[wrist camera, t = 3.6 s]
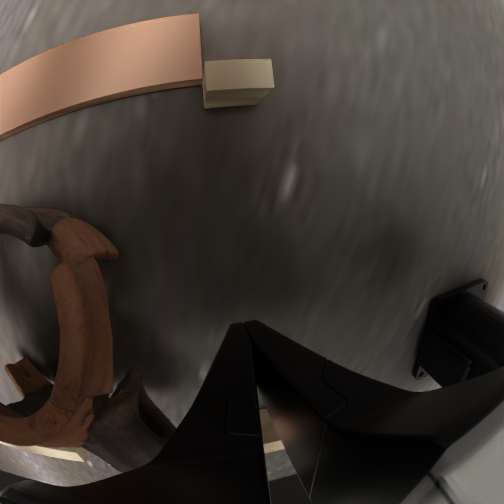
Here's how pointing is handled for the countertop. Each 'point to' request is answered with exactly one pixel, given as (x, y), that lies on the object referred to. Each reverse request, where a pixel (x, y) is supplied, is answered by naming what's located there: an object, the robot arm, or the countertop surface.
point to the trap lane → (124, 85)
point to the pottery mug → (79, 356)
